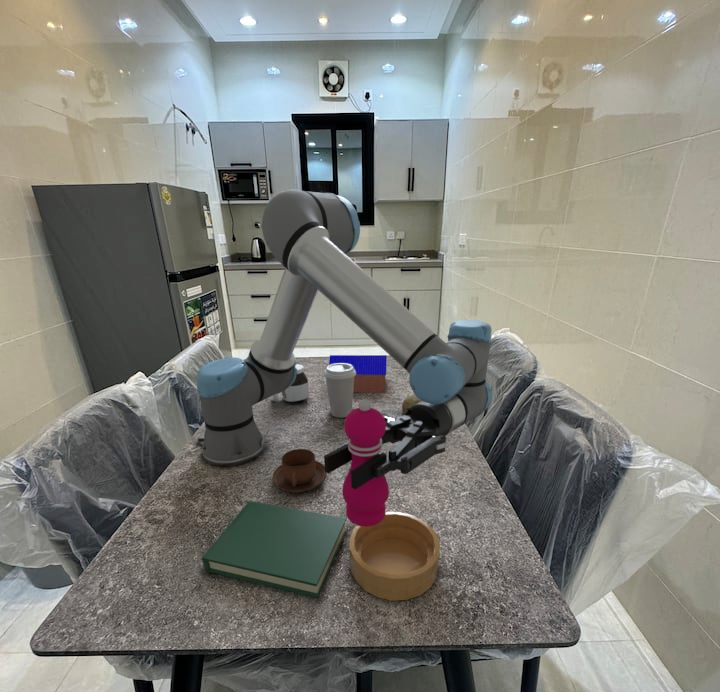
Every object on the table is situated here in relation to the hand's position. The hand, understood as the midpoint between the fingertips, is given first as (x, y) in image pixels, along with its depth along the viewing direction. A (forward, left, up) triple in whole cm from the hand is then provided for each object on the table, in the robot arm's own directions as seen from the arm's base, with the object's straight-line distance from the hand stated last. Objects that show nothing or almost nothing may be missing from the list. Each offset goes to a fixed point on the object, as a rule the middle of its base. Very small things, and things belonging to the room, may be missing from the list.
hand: (339, 472), depth 54 cm
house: (-21, +82, -21) cm, 87 cm away
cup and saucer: (-18, +23, -21) cm, 36 cm away
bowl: (+7, +5, -21) cm, 22 cm away
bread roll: (+3, +65, -21) cm, 68 cm away
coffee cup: (-20, +59, -21) cm, 66 cm away
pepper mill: (+3, +5, -11) cm, 12 cm away
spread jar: (-40, +64, -21) cm, 78 cm away
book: (-13, +3, -21) cm, 24 cm away
